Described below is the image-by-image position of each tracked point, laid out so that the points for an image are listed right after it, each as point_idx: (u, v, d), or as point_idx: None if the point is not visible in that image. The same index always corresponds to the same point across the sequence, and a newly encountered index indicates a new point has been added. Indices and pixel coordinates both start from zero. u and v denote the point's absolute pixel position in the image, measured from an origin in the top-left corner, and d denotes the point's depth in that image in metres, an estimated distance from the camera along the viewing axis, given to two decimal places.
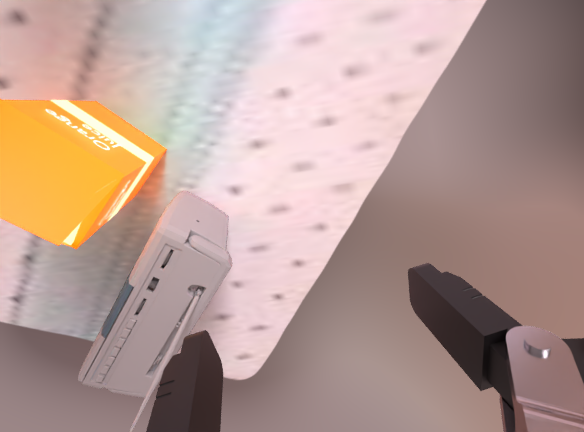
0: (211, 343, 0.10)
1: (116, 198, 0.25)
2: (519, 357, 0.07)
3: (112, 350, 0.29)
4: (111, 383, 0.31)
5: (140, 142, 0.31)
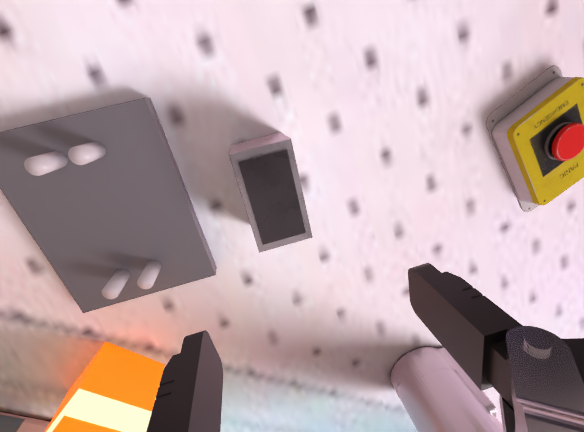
0: (211, 343, 0.10)
1: None
2: (519, 357, 0.07)
3: None
4: None
5: None
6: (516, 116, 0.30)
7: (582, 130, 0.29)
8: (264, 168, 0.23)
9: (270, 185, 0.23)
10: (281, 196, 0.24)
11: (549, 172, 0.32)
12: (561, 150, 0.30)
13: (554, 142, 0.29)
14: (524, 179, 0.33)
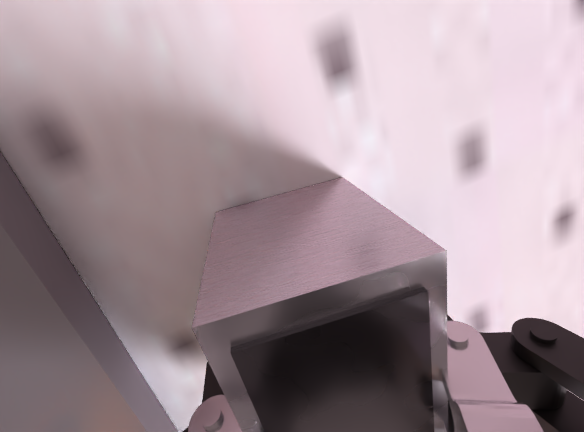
0: None
1: None
2: None
3: None
4: None
5: None
6: None
7: None
8: (334, 360, 0.06)
9: (350, 403, 0.06)
10: (382, 425, 0.07)
11: None
12: None
13: None
14: None
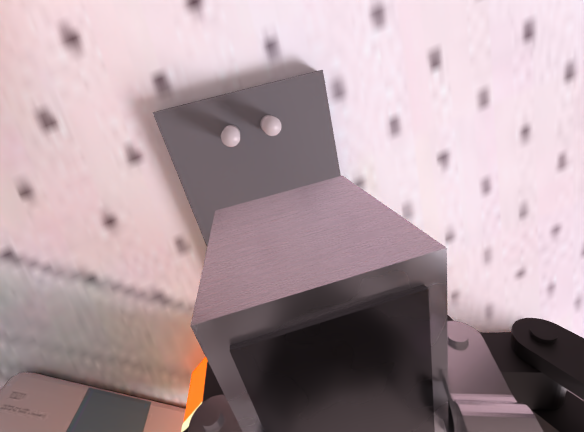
0: None
1: None
2: None
3: None
4: None
5: None
6: None
7: None
8: (334, 358, 0.06)
9: (350, 402, 0.06)
10: (382, 424, 0.07)
11: None
12: None
13: None
14: None
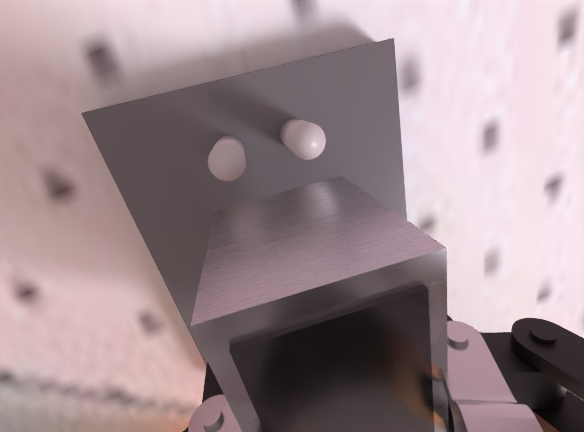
0: None
1: None
2: None
3: None
4: None
5: None
6: None
7: None
8: (334, 358, 0.06)
9: (350, 402, 0.06)
10: (382, 424, 0.07)
11: None
12: None
13: None
14: None
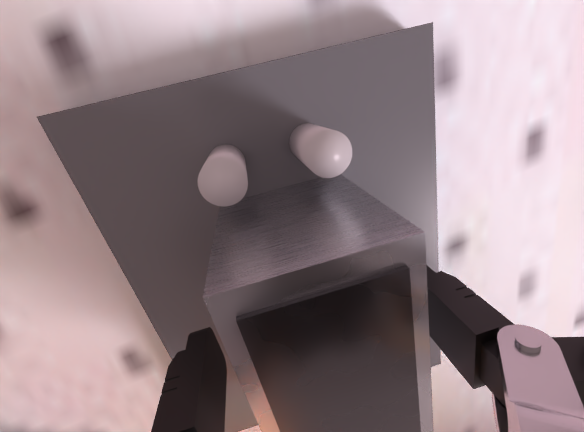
0: (215, 340, 0.11)
1: None
2: (511, 356, 0.07)
3: None
4: None
5: None
6: None
7: None
8: (327, 329, 0.07)
9: (342, 371, 0.07)
10: (371, 393, 0.08)
11: None
12: None
13: None
14: None
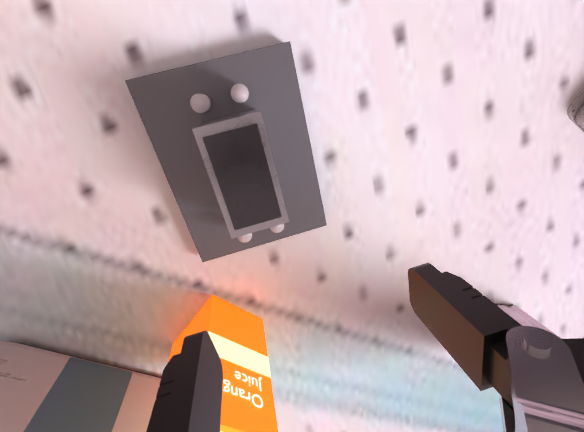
0: (211, 343, 0.10)
1: None
2: (519, 357, 0.07)
3: None
4: None
5: None
6: None
7: None
8: (232, 144, 0.21)
9: (240, 164, 0.21)
10: (253, 176, 0.22)
11: None
12: None
13: None
14: None
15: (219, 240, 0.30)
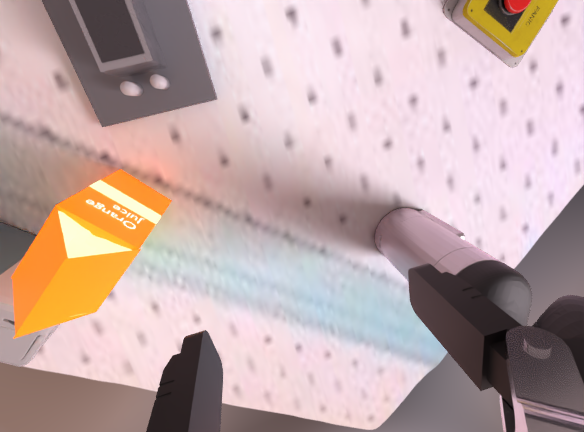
0: (211, 343, 0.10)
1: None
2: (519, 357, 0.07)
3: None
4: None
5: None
6: None
7: None
8: None
9: None
10: (110, 7, 0.26)
11: (514, 26, 0.37)
12: (514, 4, 0.35)
13: (505, 1, 0.35)
14: (496, 42, 0.38)
15: (115, 105, 0.34)
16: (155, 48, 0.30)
